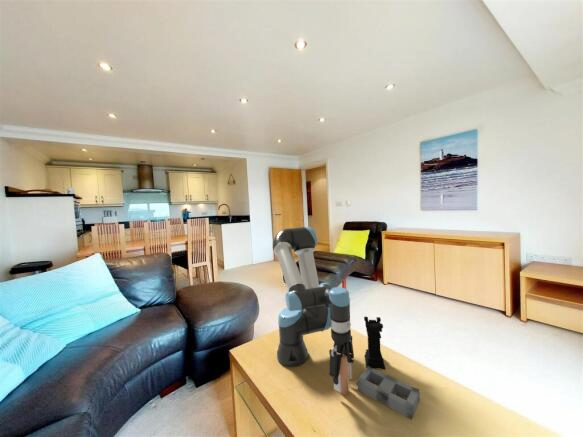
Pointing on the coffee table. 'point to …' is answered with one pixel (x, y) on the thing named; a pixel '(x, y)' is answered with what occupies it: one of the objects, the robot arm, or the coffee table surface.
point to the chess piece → (374, 344)
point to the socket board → (389, 391)
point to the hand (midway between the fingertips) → (343, 383)
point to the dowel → (344, 376)
